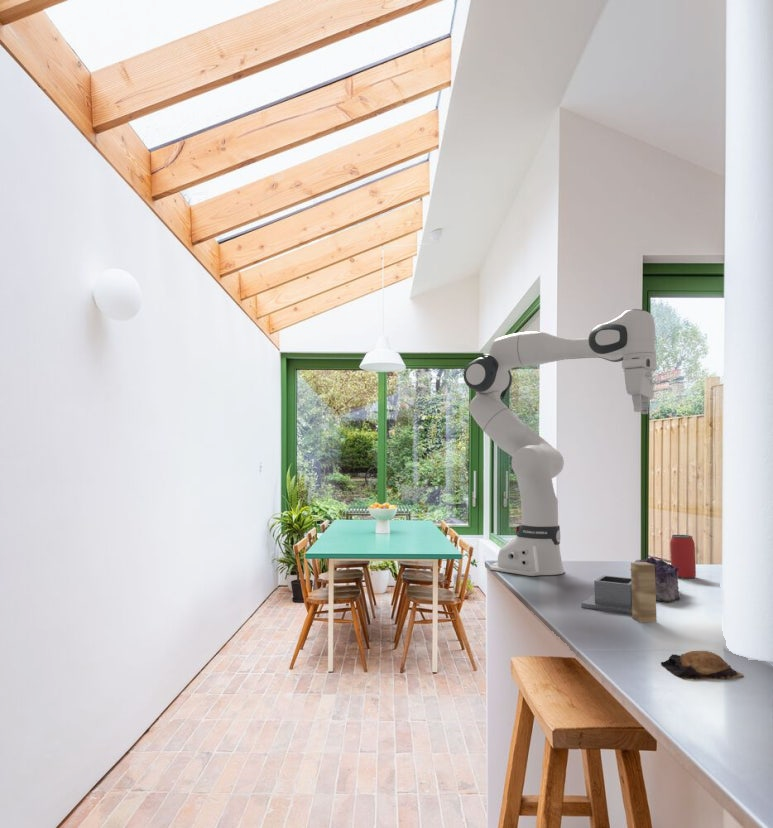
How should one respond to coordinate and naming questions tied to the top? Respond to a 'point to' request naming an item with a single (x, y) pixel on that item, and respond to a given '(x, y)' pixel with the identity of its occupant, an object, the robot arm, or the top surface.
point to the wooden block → (643, 592)
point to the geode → (664, 580)
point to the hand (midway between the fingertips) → (641, 412)
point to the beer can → (683, 555)
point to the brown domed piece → (700, 666)
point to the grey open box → (611, 595)
